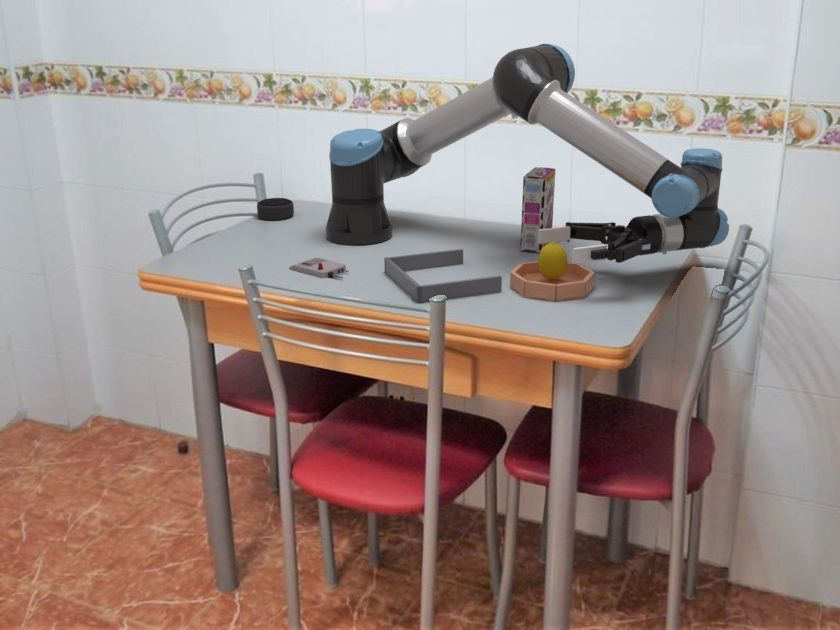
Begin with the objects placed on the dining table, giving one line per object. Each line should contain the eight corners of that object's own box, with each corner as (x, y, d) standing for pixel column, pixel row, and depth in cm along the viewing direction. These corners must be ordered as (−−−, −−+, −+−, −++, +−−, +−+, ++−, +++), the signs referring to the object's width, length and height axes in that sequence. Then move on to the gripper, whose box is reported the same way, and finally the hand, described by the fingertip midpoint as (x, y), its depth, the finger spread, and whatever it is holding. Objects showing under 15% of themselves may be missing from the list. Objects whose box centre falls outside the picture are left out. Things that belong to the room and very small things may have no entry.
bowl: (499, 280, 182) (499, 265, 181) (567, 271, 186) (568, 256, 185) (534, 304, 169) (534, 289, 167) (606, 294, 173) (607, 279, 172)
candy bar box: (542, 254, 198) (545, 177, 192) (519, 251, 199) (521, 176, 194) (553, 240, 208) (556, 167, 202) (531, 238, 209) (533, 165, 203)
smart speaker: (264, 212, 234) (263, 196, 233) (298, 213, 233) (297, 197, 232) (252, 221, 226) (251, 205, 225) (288, 222, 225) (287, 206, 223)
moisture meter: (306, 261, 196) (305, 248, 195) (360, 275, 187) (360, 261, 186) (283, 269, 191) (282, 255, 190) (337, 284, 182) (337, 269, 181)
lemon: (568, 286, 175) (570, 245, 172) (539, 286, 175) (540, 246, 172) (564, 277, 180) (566, 237, 177) (535, 277, 180) (536, 237, 177)
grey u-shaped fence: (384, 272, 187) (384, 257, 186) (461, 262, 193) (461, 248, 192) (417, 302, 170) (417, 287, 169) (501, 291, 175) (501, 276, 174)
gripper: (689, 271, 171) (588, 284, 164) (618, 236, 193) (525, 247, 186) (693, 231, 168) (590, 244, 162) (620, 201, 190) (526, 211, 184)
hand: (555, 246), depth 174 cm, fingers open, 13 cm apart
